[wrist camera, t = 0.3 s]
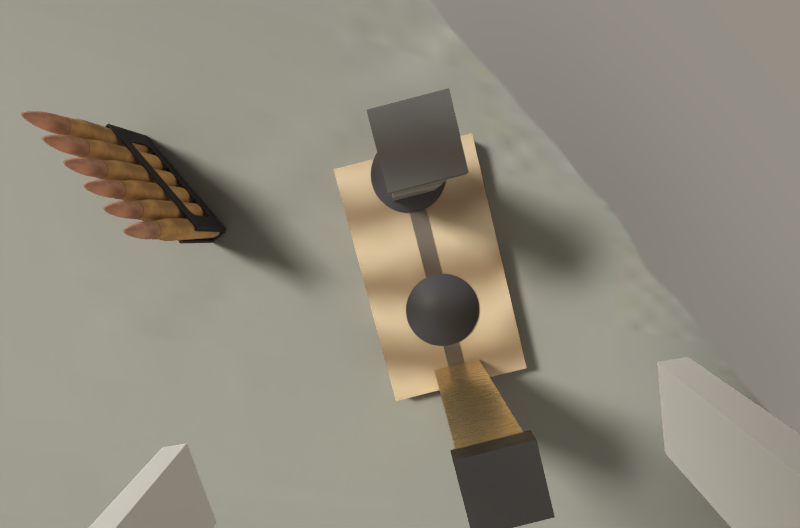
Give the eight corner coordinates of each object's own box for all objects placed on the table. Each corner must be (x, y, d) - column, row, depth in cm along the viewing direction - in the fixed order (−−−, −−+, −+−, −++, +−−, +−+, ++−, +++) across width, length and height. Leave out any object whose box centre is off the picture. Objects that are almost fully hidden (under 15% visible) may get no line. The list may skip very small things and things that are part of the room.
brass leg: (430, 368, 36) (453, 460, 22) (481, 355, 36) (536, 439, 22) (442, 416, 36) (472, 537, 22) (492, 403, 36) (554, 517, 22)
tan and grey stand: (333, 159, 36) (284, 107, 20) (464, 124, 36) (520, 45, 20) (396, 391, 38) (397, 513, 22) (519, 360, 38) (610, 460, 22)
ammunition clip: (227, 230, 37) (146, 233, 25) (211, 243, 37) (123, 252, 25) (146, 135, 36) (22, 90, 24) (130, 148, 36) (-2, 111, 24)
